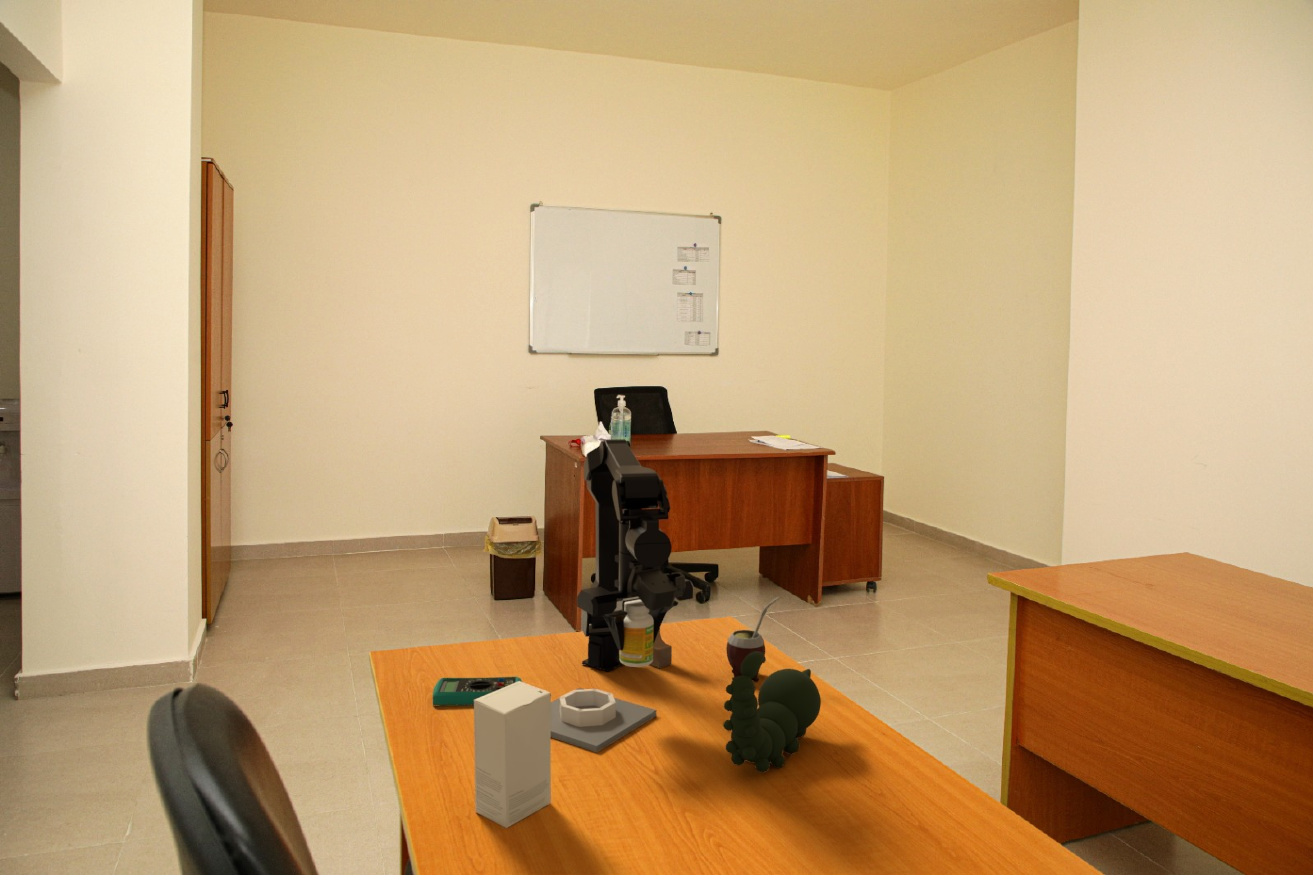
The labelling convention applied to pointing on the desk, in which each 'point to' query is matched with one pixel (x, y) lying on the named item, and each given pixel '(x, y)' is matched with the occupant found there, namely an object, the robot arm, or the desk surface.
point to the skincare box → (512, 753)
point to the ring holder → (595, 718)
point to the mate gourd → (745, 645)
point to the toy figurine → (769, 713)
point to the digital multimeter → (467, 689)
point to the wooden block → (661, 652)
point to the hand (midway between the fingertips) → (636, 646)
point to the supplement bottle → (637, 635)
